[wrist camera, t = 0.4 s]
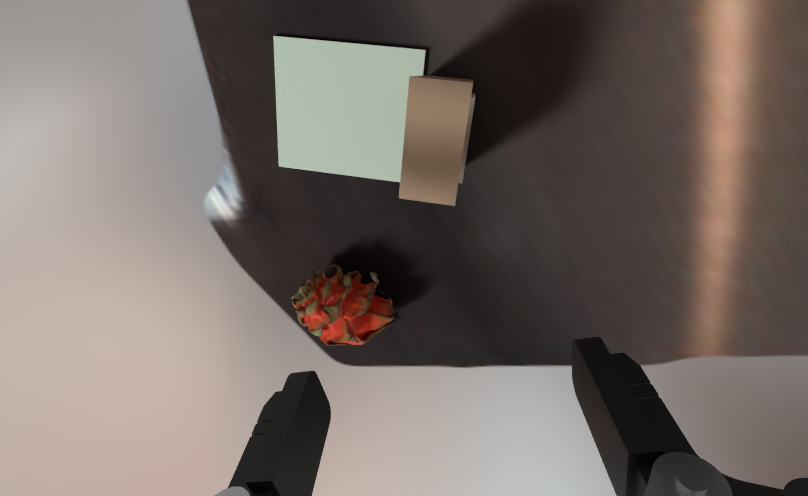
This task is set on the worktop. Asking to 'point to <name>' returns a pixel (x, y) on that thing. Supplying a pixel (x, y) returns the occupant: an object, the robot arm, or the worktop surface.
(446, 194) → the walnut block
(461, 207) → the worktop surface
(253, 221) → the worktop surface
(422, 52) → the mat
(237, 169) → the worktop surface
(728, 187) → the worktop surface
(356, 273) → the dragon fruit
